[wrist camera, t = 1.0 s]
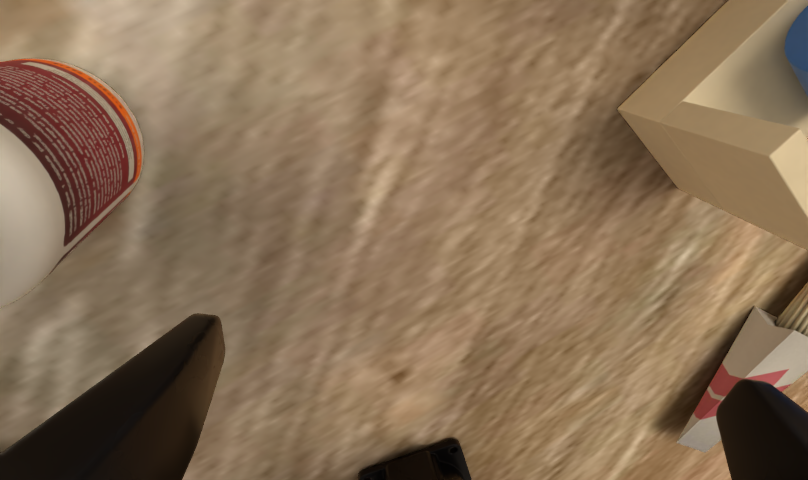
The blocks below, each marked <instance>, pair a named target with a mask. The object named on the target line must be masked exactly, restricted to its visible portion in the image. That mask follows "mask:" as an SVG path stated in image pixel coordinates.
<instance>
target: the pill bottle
mask: <svg viewBox="0 0 808 480" xmlns="http://www.w3.org/2000/svg"><path fill="white" fill-rule="evenodd" d="M143 163H144V144H143V139H142V134H141V131H140V128H139V125H138V123H137V121H136V119H135V117H134V115H133V113H132V112H131V110H130V109H129V107H128V106H127V104H126V103H125V102H124V100H123V99H122V98H121V97H120V96H119V95H118V94H117V93H116V92H115V91H114V90H113V89H112V88H111V87H110V86H108V85H107V84H106V83H105V82H103V81H102V80H100V79H99V78H97V77H96V76H94V75H92V74H91V73H89V72H87V71H85V70H83V69H81V68H78V67H76V66H73V65H71V64H67V63H64V62H60V61H56V60H50V59H38V58H35V59H18V60H10V61H5V62H0V308H2V307H4V306H6V305H8V304H11V303H13V302H15V301H16V300H18V299H20V298H21V297H23V296H24V295H26V294H27V293H28V292H30V291H31V290H33V289H34V288H35V287H36V286H37V285H38V284H39V283H40V282H41V281H42V280H43V279H45V278H46V277H47V276H48V275H49V274H50V273H51V272H52V271H53V270H54V269H55V268H56V267H57V266H58V265H59V264H60V263H61V262H62V261H63V260H64V259H65V258H66V257H67V256H68V255H69V254H70V253H71V252H72V251H73V250H74V249H75V248H76V247H77V246H78V245H79V244H80V243H81V242H82V241H83V240H84V239H85V238H86V237H87V236H88V235H89V234H90V233H91V232H92V231H93V230H94V229H95V228H96V227H97V226H98V225H99V224H100V223H101V222H102V221H103V220H104V219H105V218H106V217H107V216H108V215H109V214H110V213H111V212H112V211H113V210H114V209H116V207H117V206H118V205H119V204H120V203H122V202H123V201H124V200H125V198H126V197H127V196H128V195H129V194H130V193H131V191H132V190H133V188H134V187H135V185H136V184H137V182H138V180H139V178H140V175H141V172H142V169H143Z"/></svg>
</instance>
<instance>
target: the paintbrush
mask: <svg viewBox="0 0 808 480" xmlns="http://www.w3.org/2000/svg"><path fill="white" fill-rule="evenodd" d="M807 371H808V282H807V283H806V285H805V286H804V287H803V288H802V289H801V291H800V292H799V293H798V294H797V295H796V297H795V298H794V299H793V300H792V301H791V303H790V304H789V305H788V306H787V308H786V309H785V310H784V311H783V312H782V314H781V315H780V316H779V317H778V318H777V317H775V316H773V315H771V314H769V313H767V312H765V311H763V310H761V309H760V308H758V307H756V306H754V308H753V310H752V312H751V313H750V315H749V317H748V319H747V320H746V322H745V324H744V326H743V327H742V329H741V331H740V333H739V334H738V336H737V338H736V340H735V341H734V343H733V345H732V346H731V348H730V350H729V352H728V353H727V355H726V357H725V359H724V360H723V362H722V364H721V366H720V367H719V369H718V371H717V373H716V374H715V376H714V378H713V380H712V381H711V383H710V385H709V387H708V388H707V390H706V392H705V394H704V395H703V397H702V399H701V400H700V402H699V404H698V406H697V407H696V409H695V411H694V413H693V414H692V416H691V418H690V420H689V421H688V423H687V425H686V427H685V428H684V430H683V432H682V434H681V435H680V437H679V439H678V441H677V442H676V443H679V444H682V445H685V446H688V447H690V448H693V449H696V450H699V451H702V452H706V451H708V450H709V449H710V448H711V447H713V446H714V445H715V444H717V443H718V442H719V441H720V440H721V436H720V432H719V428H718V425H717V420H716V411H717V408H718V406H719V404H720V403H721V402H722V400H723V399H724V398H725V397H726V395H727V394H728V393H729V391H730V390H731V389H732V388H733V386H734V385H735V384H736V383H737V382H738V381H739V380H742V379H751V380H759V381H765V382H768V383H770V384H772V385H773V386H774V387H776V388H777V389H778V390H780V391H781V392H782V391H783V390H785V389H786V388H787V387H788V386H790V385H791V384H792V383H793V382H795V381H796V380H797V379H798V378H800V377H801V376H802V375H803V374H805V373H806V372H807Z"/></svg>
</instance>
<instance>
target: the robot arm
mask: <svg viewBox="0 0 808 480" xmlns="http://www.w3.org/2000/svg"><path fill="white" fill-rule="evenodd" d="M224 357H225V344H224V338H223V331H222V325H221V320H220V318H219V317H218V316H215V315H208V314H199V313H197V314H193V315H191V316H189V317H188V318H187V319H185V320H184V321H183V322H181V323H180V324H178V325H177V326H176V327H174V328H173V329H172V330H170V331H169V332H167V333H166V334H165V335H163V336H162V337H161V338H159V339H158V340H156V341H155V342H154V343H152V344H151V345H150V346H148V347H147V348H145V349H144V350H143V351H141V352H140V353H139V354H137V355H136V356H134V357H133V358H132V359H130V360H129V361H128V362H126V363H125V364H123V365H122V366H121V367H119V368H118V369H117V370H115V371H114V372H112V373H111V374H110V375H108V376H107V377H106V378H104V379H103V380H101V381H100V382H99V383H97V384H96V385H95V386H93V387H92V388H90V389H89V390H88V391H86V392H85V393H83V394H82V395H81V396H79V397H78V398H77V399H75V400H74V401H72V402H71V403H70V404H68V405H67V406H66V407H64V408H63V409H61V410H60V411H59V412H57V413H56V414H55V415H53V416H52V417H50V418H49V419H48V420H46V421H45V422H44V423H42V424H41V425H39V426H38V427H37V428H35V429H34V430H33V431H31V432H30V433H28V434H27V435H26V436H24V437H23V438H22V439H20V440H19V441H17V442H16V443H15V444H13V445H12V446H11V447H9V448H8V449H6V450H5V451H4V452H2V453H1V454H0V480H182V479H183V476H184V474H185V472H186V469H187V467H188V465H189V463H190V460H191V458H192V456H193V453H194V451H195V448H196V446H197V443H198V440H199V437H200V434H201V431H202V428H203V425H204V422H205V419H206V416H207V412H208V409H209V406H210V403H211V400H212V397H213V393H214V390H215V387H216V384H217V381H218V378H219V374H220V371H221V368H222V365H223V361H224ZM716 420H717V425H718V428H719V432H720V436H721V440H722V444H723V448H724V451H725V455H726V459H727V463H728V467H729V471H730V474H731V478H732V480H808V412H806V411H805V410H804V409H803V408H801V407H800V406H799V405H797V404H796V403H795V402H794V401H792V400H791V399H790V398H788V397H787V396H786V395H785V394H783V393H782V392H781V391H780V390H778V389H777V388H776V387H774V386H773V385H772V384H770V383H768V382H765V381H759V380H751V379H742V380H739V381H738V382H737V383H736V384H735V385H734V386H733V388H732V389H731V390H730V391H729V393H728V394H727V395H726V397H725V398H724V399H723V400H722V402H721V403H720V404H719V406H718V408H717V411H716ZM358 480H471V477H470V474H469V471H468V467H467V464H466V461H465V458H464V455H463V452H462V449H461V446H460V443H459V441H458V440H455V439H452V440H448V441H445V442H442V443H439V444H436V445H434V446H431V447H428V448H425V449H422V450H419V451H416V452H413V453H411V454H408V455H405V456H402V457H399V458H396V459H393V460H390V461H388V462H385V463H382V464H379V465H376V466H373V467H370V468H367V469H365V470H362V471H361V472H360V473H359V474H358Z"/></svg>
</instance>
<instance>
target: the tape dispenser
mask: <svg viewBox="0 0 808 480" xmlns="http://www.w3.org/2000/svg"><path fill="white" fill-rule="evenodd" d="M617 110H618V111H619V113H620V114H621V115H622V116H623V118H624V119H625V120H626V122H627V123H628V124H629V126H630V127H631V128H632V129H633V131H634V132H635V133H636V135H637V136H638V137H639V139H640V140H641V141H642V142H643V144H644V145H645V146H646V148H647V149H648V150H649V152H650V153H651V154H652V155H653V157H654V158H655V159H656V161H657V162H658V163H659V165H660V166H661V167H662V168H663V170H664V171H665V172H666V174H667V175H668V176H669V178H670V179H671V180H672V181H673V183H674V184H675V185H676V187H677V188H678V189H680V190H682V191H684V192H686V193H688V194H691V195H693V196H695V197H697V198H699V199H701V200H703V201H705V202H707V203H709V204H712V205H714V206H716V207H718V208H720V209H722V210H724V211H726V212H728V213H730V214H732V215H735V216H737V217H739V218H741V219H743V220H745V221H747V222H749V223H751V224H753V225H756V226H758V227H760V228H762V229H764V230H766V231H768V232H770V233H772V234H775V235H777V236H779V237H781V238H783V239H785V240H787V241H789V242H791V243H793V244H796V245H798V246H800V247H802V248H804V249H806V250H808V141H807V139H806V138H807V137H808V0H728V1H727V2H726V3H725V4H724V5H723V6H722V7H721V8H720V9H719V10H718V11H717V12H716V13H715V14H714V15H713V16H712V17H711V18H710V19H709V20H708V21H707V22H706V23H705V24H704V25H703V26H701V27H700V28H699V29H698V30H697V31H696V32H695V33H694V34H693V35H692V36H691V37H690V38H689V39H688V40H687V41H686V42H685V43H684V44H683V45H682V46H681V47H680V48H679V49H678V50H677V51H676V52H675V53H674V54H673V55H672V56H671V57H670V58H669V59H668V60H667V61H666V62H665V63H664V64H662V65H661V66H660V67H659V68H658V69H657V70H656V71H655V72H654V73H653V74H652V75H651V76H650V77H649V78H648V79H647V80H646V81H645V82H644V83H643V84H642V85H641V86H640V87H639V88H638V89H637V90H636V91H635V92H634V93H633V94H632V95H631V96H630V97H629V98H628V99H627V100H626V101H625V102H623V103H622V104H621V105H620V106H619V107H618V108H617Z"/></svg>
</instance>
